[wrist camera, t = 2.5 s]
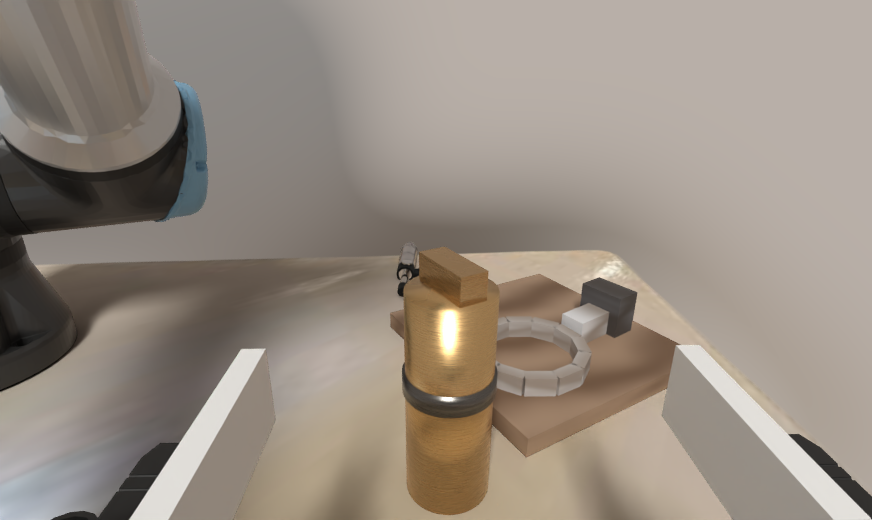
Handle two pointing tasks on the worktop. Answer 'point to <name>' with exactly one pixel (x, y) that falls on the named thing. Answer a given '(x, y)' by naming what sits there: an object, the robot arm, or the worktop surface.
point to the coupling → (449, 380)
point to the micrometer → (407, 266)
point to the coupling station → (568, 358)
